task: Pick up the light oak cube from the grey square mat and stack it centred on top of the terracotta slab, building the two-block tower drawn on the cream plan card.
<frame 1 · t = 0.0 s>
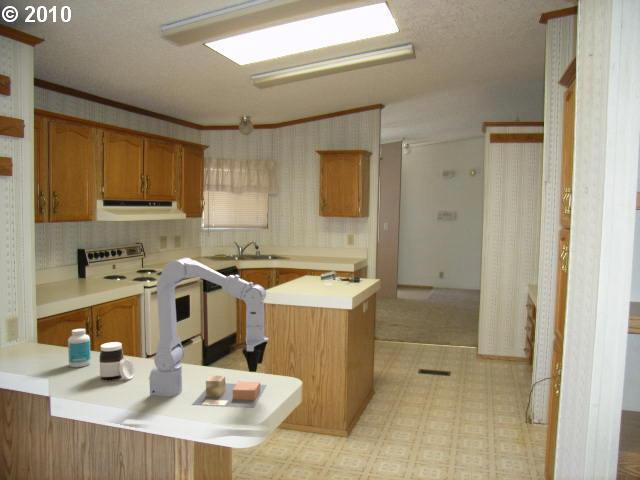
hand: (255, 367, 151), 10 cm above the countertop, tool pointing down, fingers open, 7 cm apart
terracotta slab: (246, 395, 152), point 1 cm above the countertop, touching grey square mat
oak cube: (215, 393, 153), point 1 cm above the countertop, touching grey square mat
grey square mat: (231, 397, 153), on the countertop
spread jar: (117, 378, 170), on the countertop
pill bottle: (79, 365, 184), on the countertop
bread roll: (164, 375, 174), on the countertop
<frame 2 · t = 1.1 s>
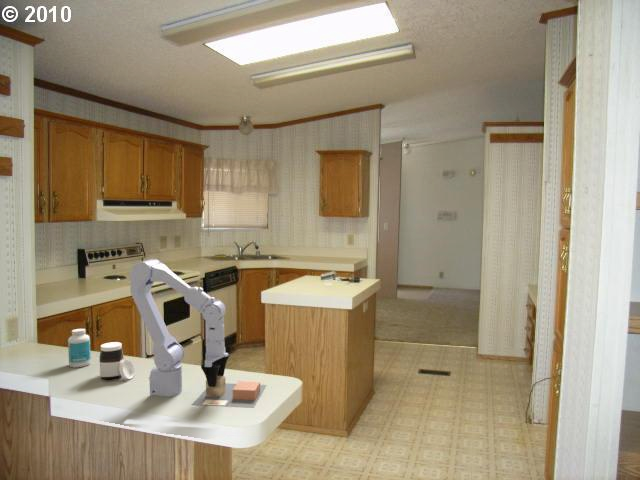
hand: (216, 381, 153), 5 cm above the countertop, tool pointing down, fingers open, 7 cm apart
nothing on the countertop moved.
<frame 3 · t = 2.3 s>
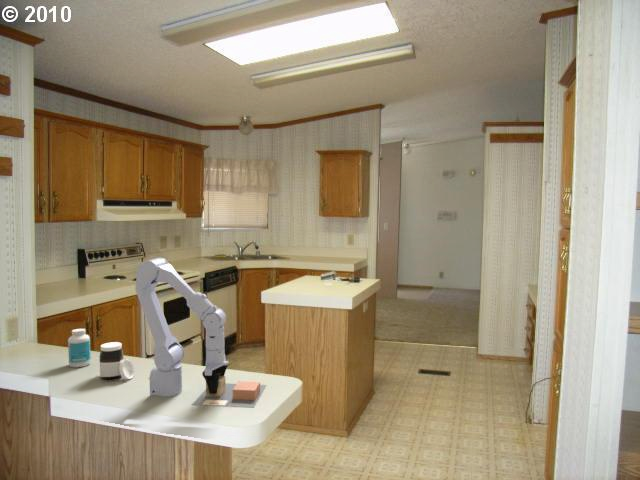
hand: (215, 390, 153), 2 cm above the countertop, tool pointing down, fingers closed on oak cube, 5 cm apart
oak cube: (215, 393, 153), point 1 cm above the countertop, touching grey square mat, gripper
everything else where it was.
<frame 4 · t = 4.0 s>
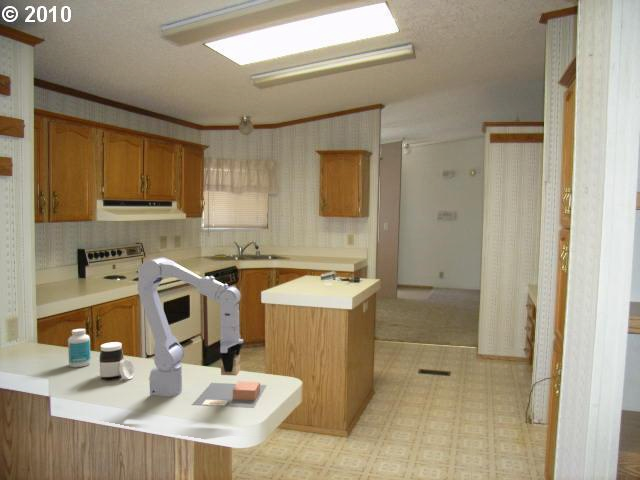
hand: (230, 368, 152), 9 cm above the countertop, tool pointing down, fingers closed on oak cube, 5 cm apart
oak cube: (230, 372, 152), point 8 cm above the countertop, touching gripper
everything else where it was.
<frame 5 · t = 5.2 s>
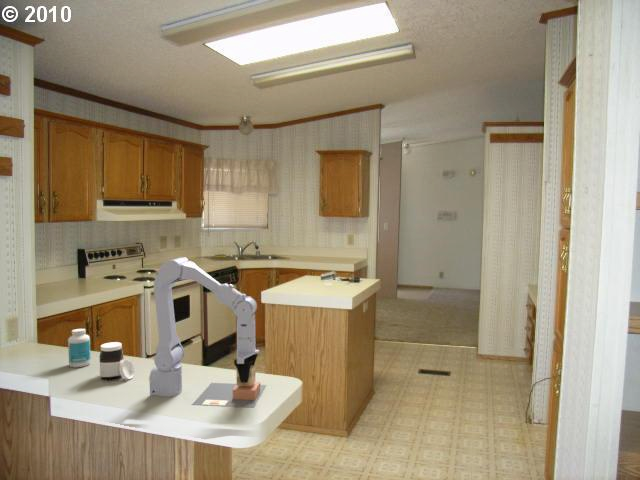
hand: (246, 379, 152), 6 cm above the countertop, tool pointing down, fingers closed on oak cube, 5 cm apart
oak cube: (246, 383, 152), point 5 cm above the countertop, touching gripper
everything else where it was.
when the fingers open (6 cm above the countertop, at t = 5.9 s): oak cube stays where it is, resting on terracotta slab.
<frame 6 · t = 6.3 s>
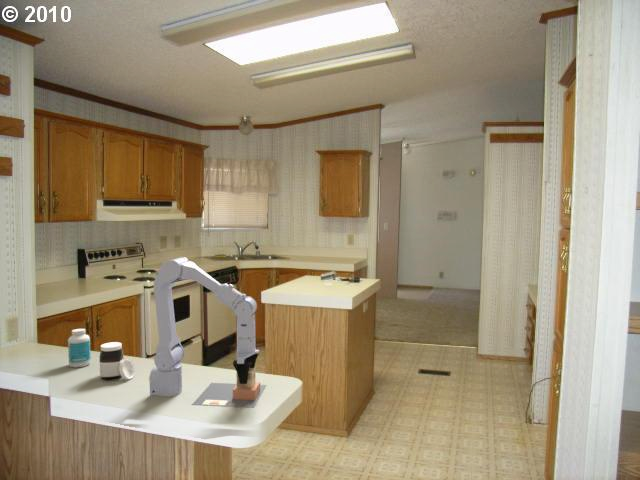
hand: (246, 378, 152), 6 cm above the countertop, tool pointing down, fingers open, 7 cm apart
terracotta slab: (246, 395, 152), point 1 cm above the countertop, touching grey square mat, oak cube
oak cube: (246, 385, 152), point 4 cm above the countertop, touching terracotta slab
everything else where it was.
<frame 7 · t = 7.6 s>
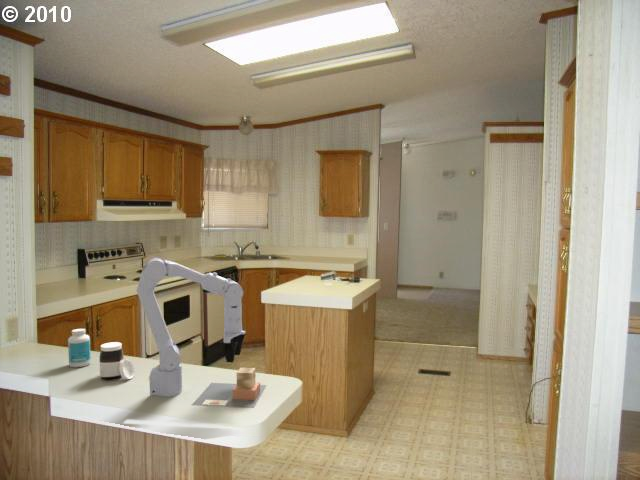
hand: (233, 358, 161), 10 cm above the countertop, tool pointing down, fingers open, 7 cm apart
nothing on the countertop moved.
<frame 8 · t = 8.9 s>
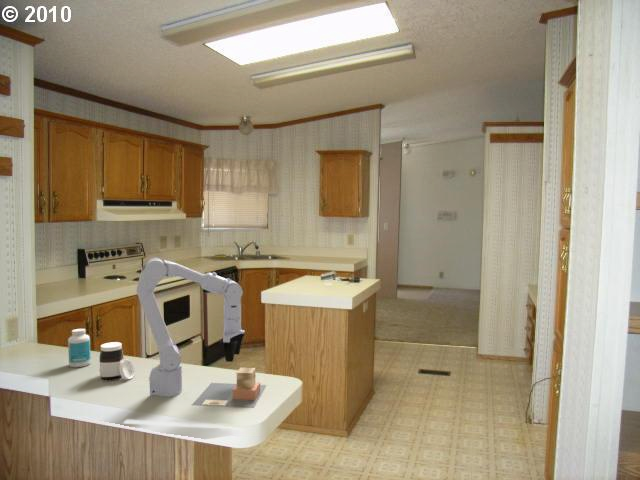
hand: (232, 357, 161), 10 cm above the countertop, tool pointing down, fingers open, 7 cm apart
nothing on the countertop moved.
at the end: oak cube 0.1 cm off-centre on the terracotta slab, point 3.0 cm above the terracotta slab's base; oak cube tilted 0°; terracotta slab moved 0.0 cm from its start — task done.
